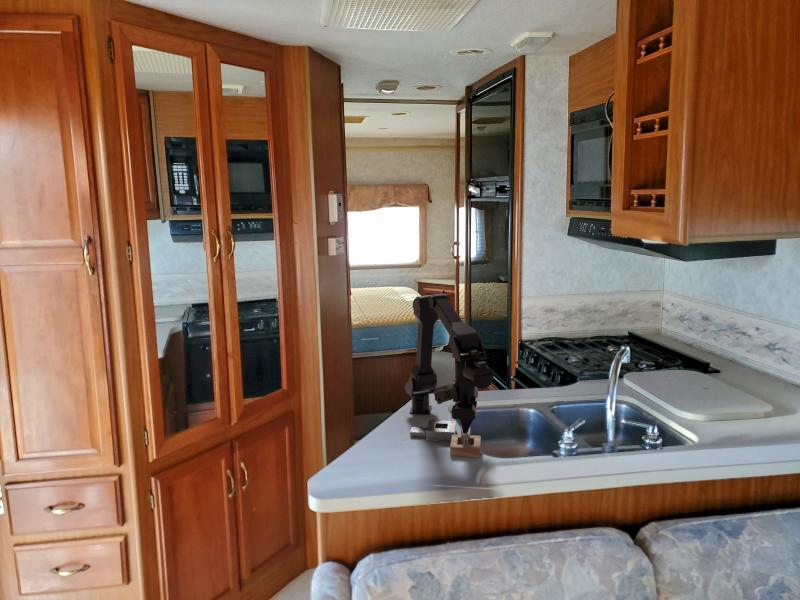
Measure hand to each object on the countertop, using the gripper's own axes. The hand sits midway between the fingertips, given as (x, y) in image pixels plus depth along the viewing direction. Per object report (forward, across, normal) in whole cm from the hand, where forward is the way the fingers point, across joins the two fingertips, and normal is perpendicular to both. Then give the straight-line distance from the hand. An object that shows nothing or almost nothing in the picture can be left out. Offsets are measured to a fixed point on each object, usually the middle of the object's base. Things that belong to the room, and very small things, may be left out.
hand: (465, 430), depth 167 cm
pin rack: (+6, 0, 0) cm, 6 cm away
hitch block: (+6, -8, -10) cm, 14 cm away
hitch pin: (+4, 0, 0) cm, 4 cm away
